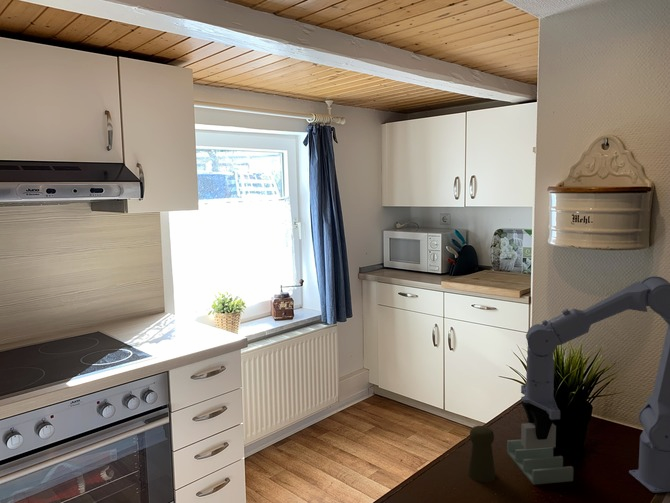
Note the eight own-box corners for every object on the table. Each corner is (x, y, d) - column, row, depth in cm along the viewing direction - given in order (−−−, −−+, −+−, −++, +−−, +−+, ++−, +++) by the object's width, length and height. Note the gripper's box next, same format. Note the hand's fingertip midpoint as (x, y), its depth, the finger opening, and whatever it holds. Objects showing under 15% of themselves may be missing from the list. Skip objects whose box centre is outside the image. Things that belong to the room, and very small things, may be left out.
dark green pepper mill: (488, 485, 112) (488, 437, 111) (462, 476, 116) (462, 429, 115) (500, 473, 117) (500, 427, 116) (475, 464, 121) (475, 419, 119)
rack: (542, 449, 126) (543, 437, 126) (573, 481, 113) (573, 467, 113) (507, 452, 126) (507, 440, 125) (533, 484, 112) (533, 471, 112)
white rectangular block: (550, 441, 120) (550, 421, 119) (555, 447, 118) (556, 426, 117) (521, 444, 120) (521, 423, 119) (525, 449, 117) (526, 428, 117)
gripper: (509, 368, 123) (508, 422, 125) (538, 392, 109) (537, 453, 111) (537, 366, 124) (536, 420, 126) (570, 390, 110) (568, 450, 111)
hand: (538, 435), depth 118 cm, fingers closed on white rectangular block, 2 cm apart
